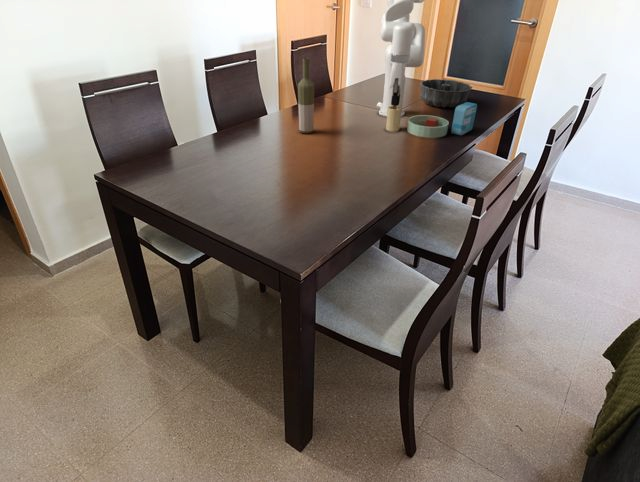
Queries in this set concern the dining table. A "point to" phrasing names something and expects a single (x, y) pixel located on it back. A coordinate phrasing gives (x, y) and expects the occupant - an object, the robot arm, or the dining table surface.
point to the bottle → (306, 100)
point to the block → (431, 122)
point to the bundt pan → (444, 92)
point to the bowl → (418, 127)
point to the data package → (464, 118)
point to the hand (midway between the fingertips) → (395, 104)
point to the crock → (393, 118)
